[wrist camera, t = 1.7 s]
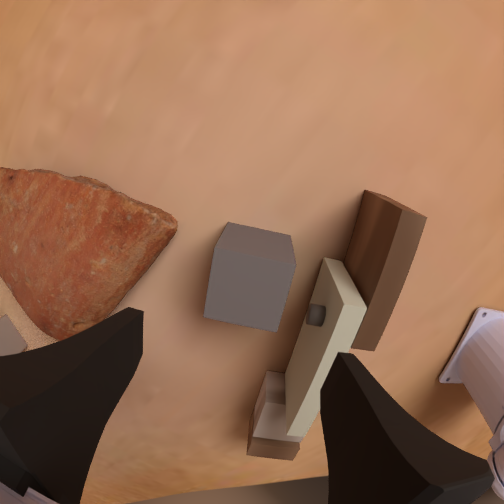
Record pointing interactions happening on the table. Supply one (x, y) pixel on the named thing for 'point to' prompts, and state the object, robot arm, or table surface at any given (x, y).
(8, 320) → the lighter
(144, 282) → the table surface
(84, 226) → the ceramic shard
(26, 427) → the robot arm
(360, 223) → the door frame
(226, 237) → the grey block
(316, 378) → the cream bar
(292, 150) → the table surface
